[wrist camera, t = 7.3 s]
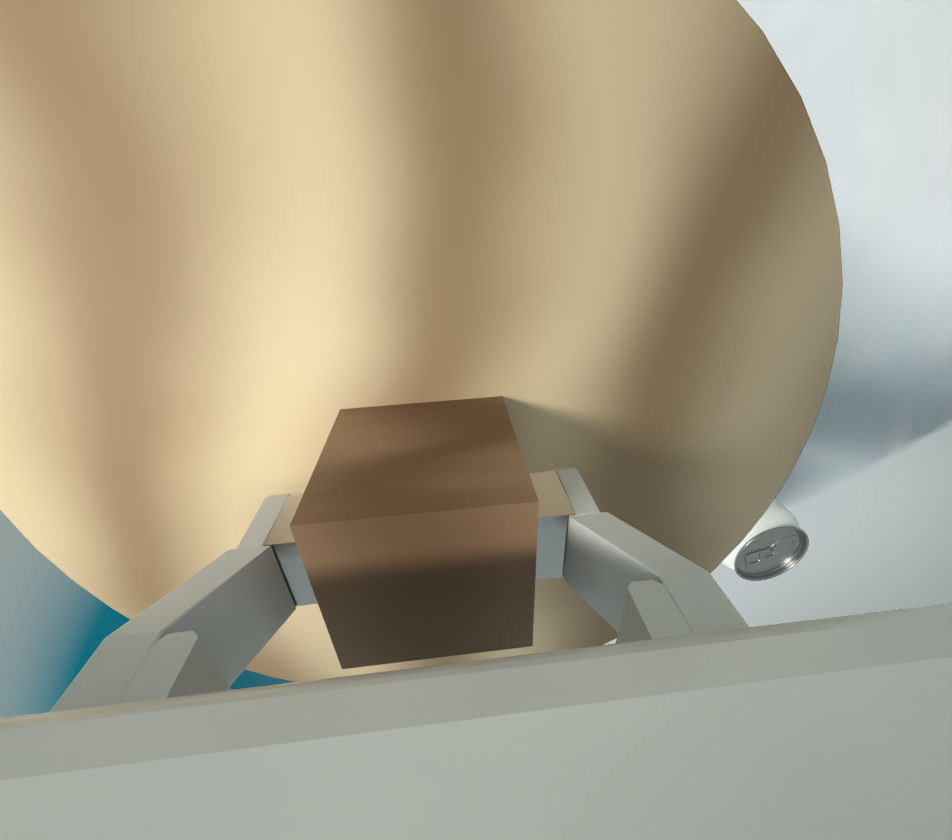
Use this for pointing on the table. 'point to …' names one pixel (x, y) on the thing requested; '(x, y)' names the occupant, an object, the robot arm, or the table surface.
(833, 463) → the table surface
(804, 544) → the can
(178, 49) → the oak bowl cover
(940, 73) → the table surface
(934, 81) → the table surface
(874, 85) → the table surface
